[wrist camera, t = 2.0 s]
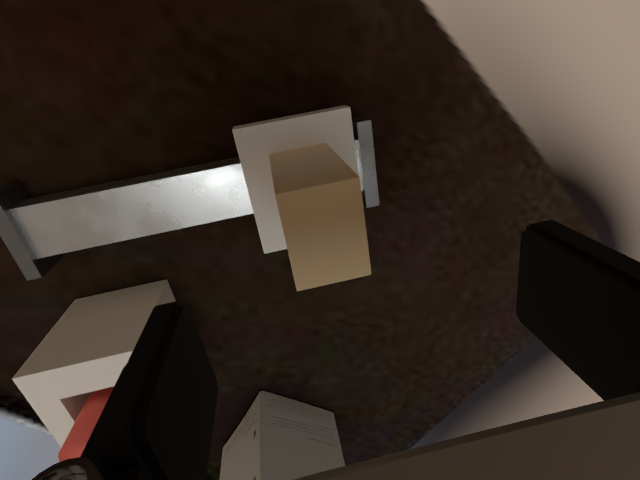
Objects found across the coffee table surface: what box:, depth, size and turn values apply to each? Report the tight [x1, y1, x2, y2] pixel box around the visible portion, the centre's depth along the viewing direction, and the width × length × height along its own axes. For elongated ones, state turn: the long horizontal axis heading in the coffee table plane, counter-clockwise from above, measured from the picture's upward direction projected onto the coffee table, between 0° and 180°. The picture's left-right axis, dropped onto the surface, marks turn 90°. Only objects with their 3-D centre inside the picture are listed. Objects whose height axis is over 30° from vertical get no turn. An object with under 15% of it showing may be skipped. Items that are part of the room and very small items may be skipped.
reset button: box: [58, 386, 114, 462], centre depth 20 cm, size 2×2×5 cm
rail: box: [0, 115, 379, 280], centre depth 22 cm, size 5×21×2 cm, turn 100°
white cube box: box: [12, 279, 176, 448], centre depth 23 cm, size 7×7×7 cm
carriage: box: [232, 105, 371, 291], centre depth 18 cm, size 7×6×10 cm
